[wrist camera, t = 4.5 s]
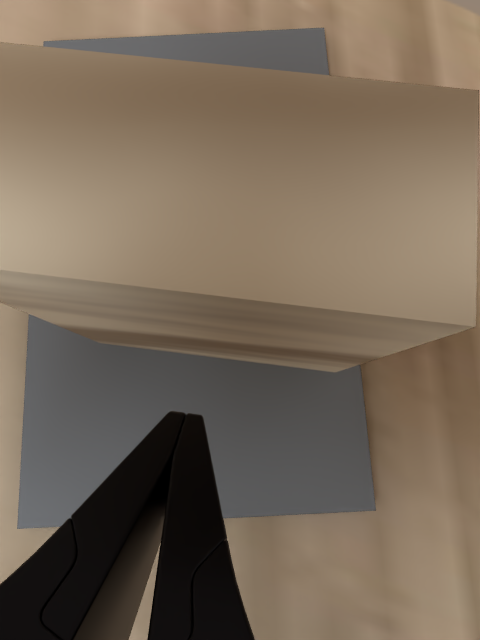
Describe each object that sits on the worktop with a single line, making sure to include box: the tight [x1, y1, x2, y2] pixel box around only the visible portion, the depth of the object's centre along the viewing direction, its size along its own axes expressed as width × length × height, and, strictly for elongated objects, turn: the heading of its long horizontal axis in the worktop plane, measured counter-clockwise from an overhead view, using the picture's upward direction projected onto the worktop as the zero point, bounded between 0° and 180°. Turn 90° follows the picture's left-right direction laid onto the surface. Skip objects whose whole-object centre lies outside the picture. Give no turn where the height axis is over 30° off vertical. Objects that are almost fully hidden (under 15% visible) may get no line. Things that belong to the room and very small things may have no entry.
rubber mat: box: [17, 28, 376, 529], centre depth 18 cm, size 22×14×1 cm, turn 3°
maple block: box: [0, 42, 479, 372], centre depth 12 cm, size 5×10×10 cm, turn 83°
